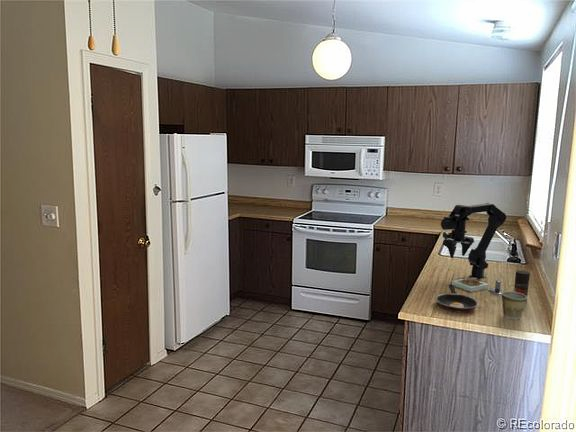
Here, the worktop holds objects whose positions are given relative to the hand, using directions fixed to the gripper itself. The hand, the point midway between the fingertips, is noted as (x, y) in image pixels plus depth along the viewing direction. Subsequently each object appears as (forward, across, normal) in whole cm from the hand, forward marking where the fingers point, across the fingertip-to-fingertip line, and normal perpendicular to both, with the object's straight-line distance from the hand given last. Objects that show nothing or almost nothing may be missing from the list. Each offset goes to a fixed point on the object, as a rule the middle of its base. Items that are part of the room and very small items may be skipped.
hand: (457, 256), depth 257 cm
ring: (+12, +4, +12) cm, 17 cm away
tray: (+13, +4, +12) cm, 18 cm away
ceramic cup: (+13, +20, +48) cm, 53 cm away
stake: (+13, -1, +25) cm, 28 cm away
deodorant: (+13, +2, +38) cm, 41 cm away
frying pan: (+13, +28, +22) cm, 38 cm away
